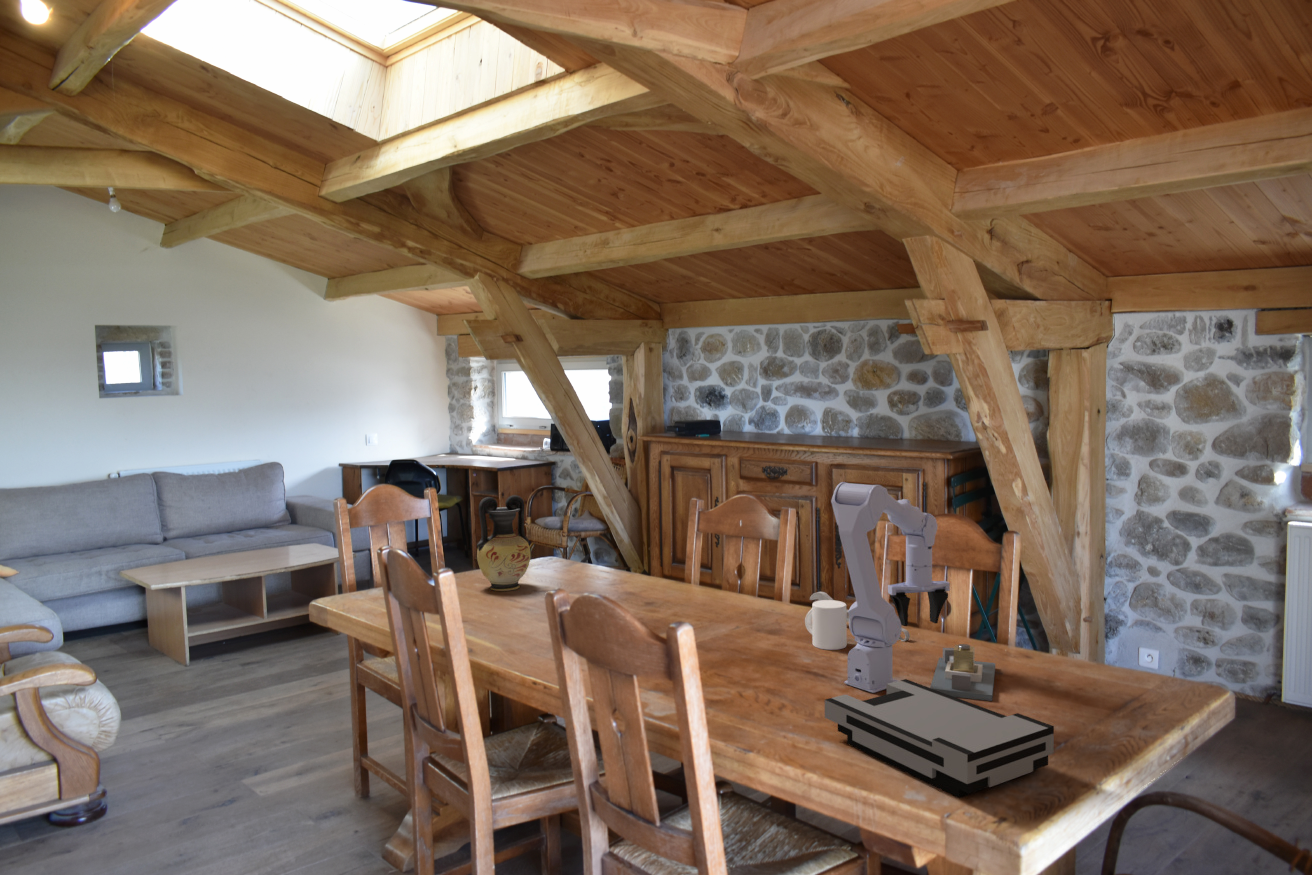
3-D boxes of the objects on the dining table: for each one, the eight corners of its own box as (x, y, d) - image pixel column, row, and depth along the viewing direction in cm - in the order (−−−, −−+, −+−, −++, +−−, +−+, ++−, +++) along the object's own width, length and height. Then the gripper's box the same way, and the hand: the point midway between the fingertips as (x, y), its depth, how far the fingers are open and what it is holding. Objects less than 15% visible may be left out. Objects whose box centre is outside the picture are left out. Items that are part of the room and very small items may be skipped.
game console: (905, 714, 171) (905, 672, 171) (1053, 774, 144) (1053, 725, 143) (824, 736, 161) (824, 692, 160) (967, 807, 133) (967, 754, 133)
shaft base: (992, 700, 177) (992, 680, 176) (929, 693, 181) (929, 673, 181) (995, 668, 197) (995, 649, 197) (939, 662, 202) (939, 644, 201)
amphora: (514, 579, 297) (512, 491, 295) (541, 587, 284) (539, 495, 282) (467, 587, 286) (465, 496, 284) (493, 596, 273) (491, 500, 271)
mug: (829, 609, 210) (794, 600, 220) (829, 652, 211) (795, 640, 221) (853, 604, 215) (818, 595, 225) (853, 645, 216) (818, 635, 225)
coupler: (953, 677, 188) (953, 647, 187) (954, 671, 191) (954, 642, 191) (973, 679, 186) (973, 649, 186) (974, 673, 190) (974, 643, 189)
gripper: (898, 570, 194) (898, 630, 195) (957, 565, 197) (957, 625, 198) (883, 563, 201) (883, 622, 201) (940, 560, 204) (940, 617, 205)
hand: (918, 623), depth 200 cm, fingers open, 7 cm apart
